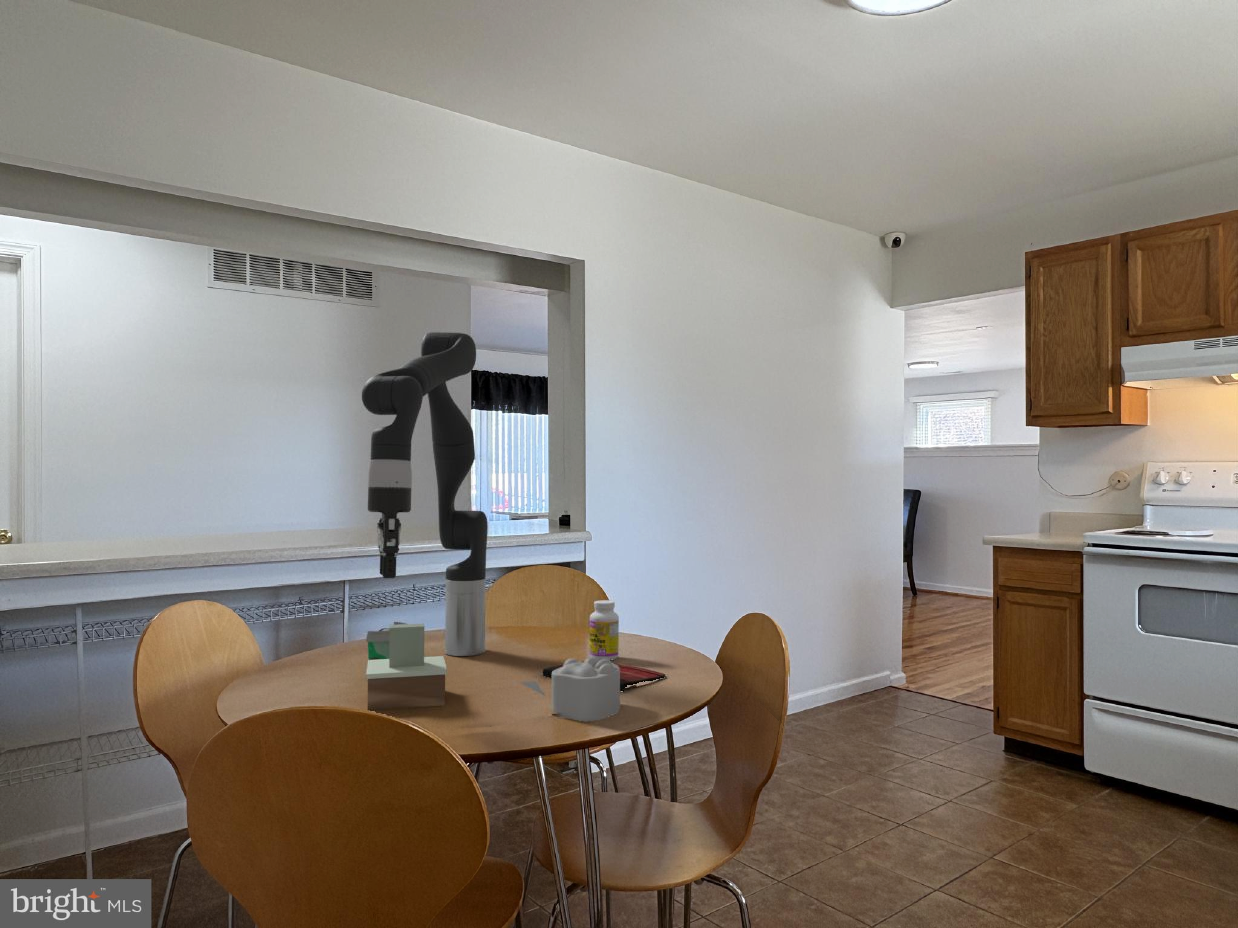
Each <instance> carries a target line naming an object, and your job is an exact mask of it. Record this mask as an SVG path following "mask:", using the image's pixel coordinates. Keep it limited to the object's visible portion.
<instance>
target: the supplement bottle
mask: <svg viewBox="0 0 1238 928" xmlns="http://www.w3.org/2000/svg"><path fill="white" fill-rule="evenodd" d="M593 607H594V612H592V613H591V614H590V615H589V645H588V646H589V648H588V649H589V650H588V651H589V655H588V656H589V657H595V658H597V659H599V660H602V659H614V660H616V659H617V657H618V658H619V640H620V639H619V630H620V629H619V626H620V625H619V622H620V621H619V618H620V617H619V615H618V613H617V612H615V611H614V610H615V607H616V606H615V601H613V600H608V599H606V600H605V599H603V600H602V599H601V600H595V601H594V602H593ZM615 658H616V659H615Z"/></svg>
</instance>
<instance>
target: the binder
mask: <svg viewBox="0 0 1238 928" xmlns="http://www.w3.org/2000/svg"><path fill="white" fill-rule="evenodd" d="M612 663H613V662H612ZM613 664H616V665H617V666H619V668H620V691H623V692H622V693H625V692H624V691H625V690H626V688H625V687H627V685H633V684H637V683H639V682H643V681H644V682H645V681H653V680H656V679H660V678H664V677H665V678H666V674H665V673H663V672H659V671H655V670H650V669H647V668H643V667H636V666H632V665H627V664H626V665H624V664H619V663H613ZM563 665H564V664H561V665H556V666H550V667H545V668H543V670H542V677H543V676H546V677H545V678H547V677H549V679H552V671H554V670H556V669H558V668H561V667H563ZM665 678H664V679H665Z"/></svg>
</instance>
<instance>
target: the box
mask: <svg viewBox="0 0 1238 928" xmlns="http://www.w3.org/2000/svg"><path fill="white" fill-rule="evenodd" d="M439 706H446V674H444V675H426V676H409V677H392V678H375V679H367V711H378V710H379V711H380V710H381V711H382V710H396V709H408V708H409V709H410V708H423V707H424V708H426V707H439Z"/></svg>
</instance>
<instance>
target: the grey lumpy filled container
mask: <svg viewBox="0 0 1238 928" xmlns="http://www.w3.org/2000/svg"><path fill="white" fill-rule="evenodd" d="M616 664H617V663H614V664H613V662H612V660H609V659H602V660H599V659H597V658H595V657H590V656H589V657H587V658H586V659H585V660H584V661H579V660H578V659H576V658H568V659H566V660H565V661H564V663H563V664H562V665H563V667H561V668H558V669H556V670H554V671H552V678H551V697H550V698H551V699H550V700H551V704H550V705H551V711H553V712H555V713H552V714H551V716H553V717H556V718H562V719H569V720H573V721H577V720H578V722H582V721H583V723H584V722H587V723H588V721H591V722H595V721H594V720H598V721H601V720H600V719H602V720H604V719H607V718H609V717H608V716H610V717H612V716H613V715H612V714H614V715H616V714H618V713H619V712H620V711H621V706H620V705H621V699H620V698H621V692H620V668H619V666H617V665H616ZM619 710H620V711H619ZM618 711H619V712H618ZM617 712H618V713H617ZM615 713H616V714H615ZM611 715H612V716H611ZM606 717H607V718H606Z"/></svg>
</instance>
